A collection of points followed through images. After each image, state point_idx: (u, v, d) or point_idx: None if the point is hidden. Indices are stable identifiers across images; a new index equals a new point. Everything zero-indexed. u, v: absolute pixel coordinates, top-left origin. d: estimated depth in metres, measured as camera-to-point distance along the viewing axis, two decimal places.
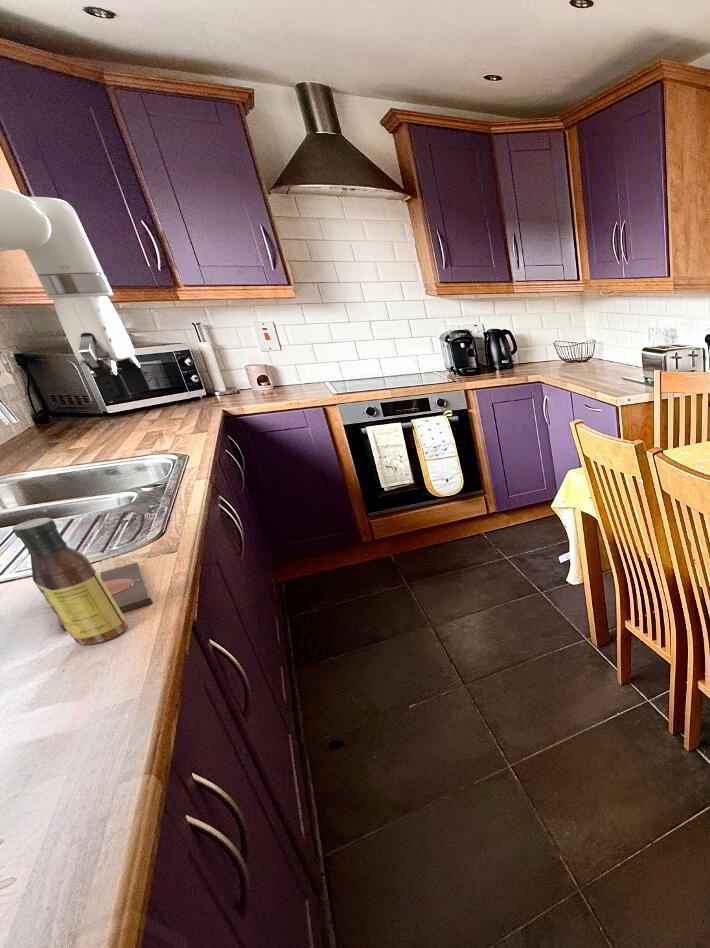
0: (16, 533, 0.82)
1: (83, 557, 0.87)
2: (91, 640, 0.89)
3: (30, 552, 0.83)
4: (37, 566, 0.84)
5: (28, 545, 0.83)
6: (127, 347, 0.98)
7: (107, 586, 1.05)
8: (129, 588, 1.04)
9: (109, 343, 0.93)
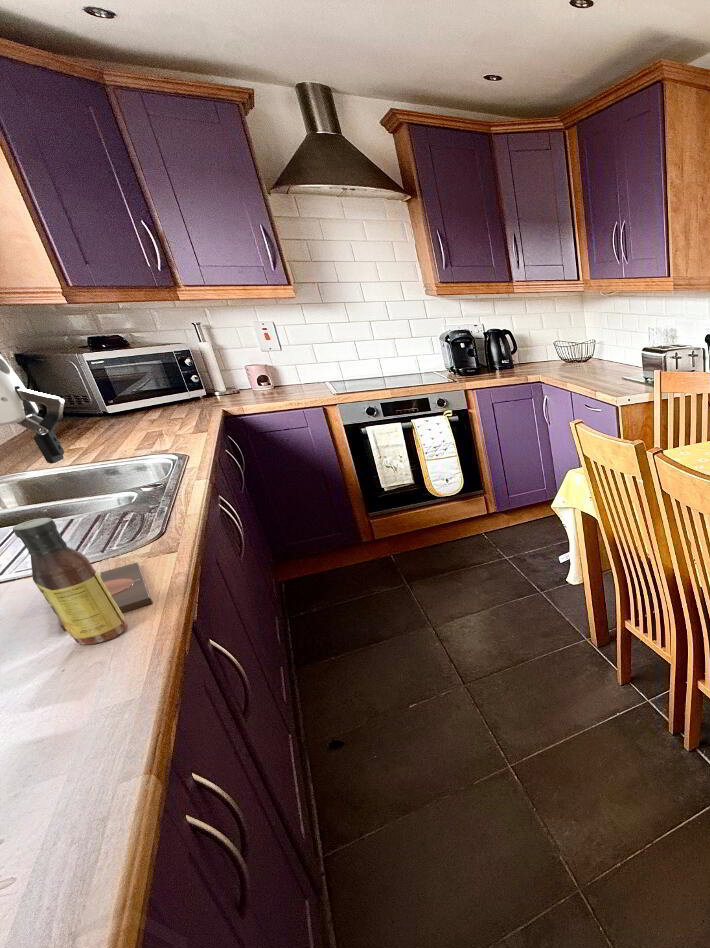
0: (16, 533, 0.82)
1: (83, 557, 0.87)
2: (91, 640, 0.89)
3: (30, 552, 0.83)
4: (37, 566, 0.84)
5: (28, 545, 0.83)
6: None
7: (107, 586, 1.05)
8: (129, 588, 1.04)
9: None
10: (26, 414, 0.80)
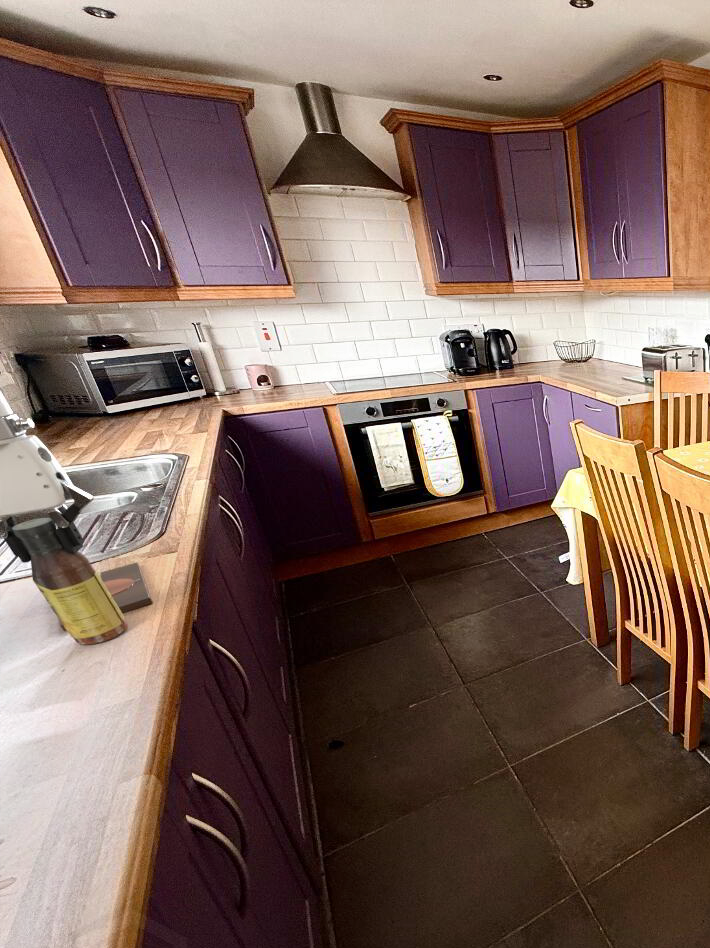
0: (16, 533, 0.82)
1: (83, 557, 0.87)
2: (91, 640, 0.89)
3: (30, 552, 0.83)
4: (37, 566, 0.84)
5: (28, 545, 0.83)
6: (24, 501, 0.81)
7: (107, 586, 1.05)
8: (129, 588, 1.04)
9: None
10: None
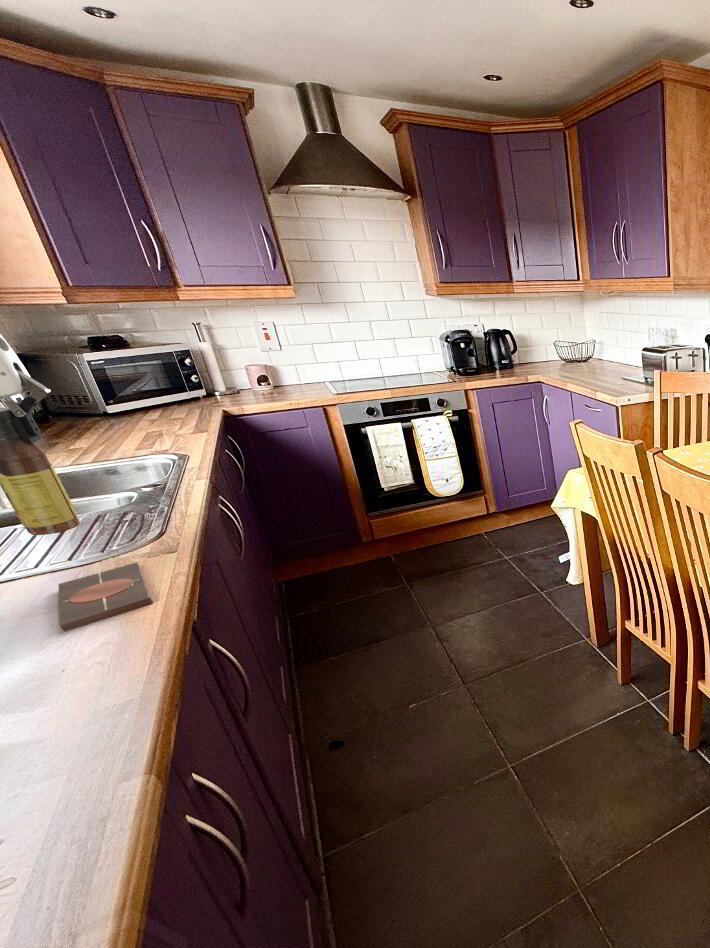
0: None
1: (40, 449, 0.92)
2: (42, 530, 0.93)
3: None
4: None
5: None
6: None
7: (107, 586, 1.05)
8: (129, 588, 1.04)
9: None
10: (15, 395, 0.88)
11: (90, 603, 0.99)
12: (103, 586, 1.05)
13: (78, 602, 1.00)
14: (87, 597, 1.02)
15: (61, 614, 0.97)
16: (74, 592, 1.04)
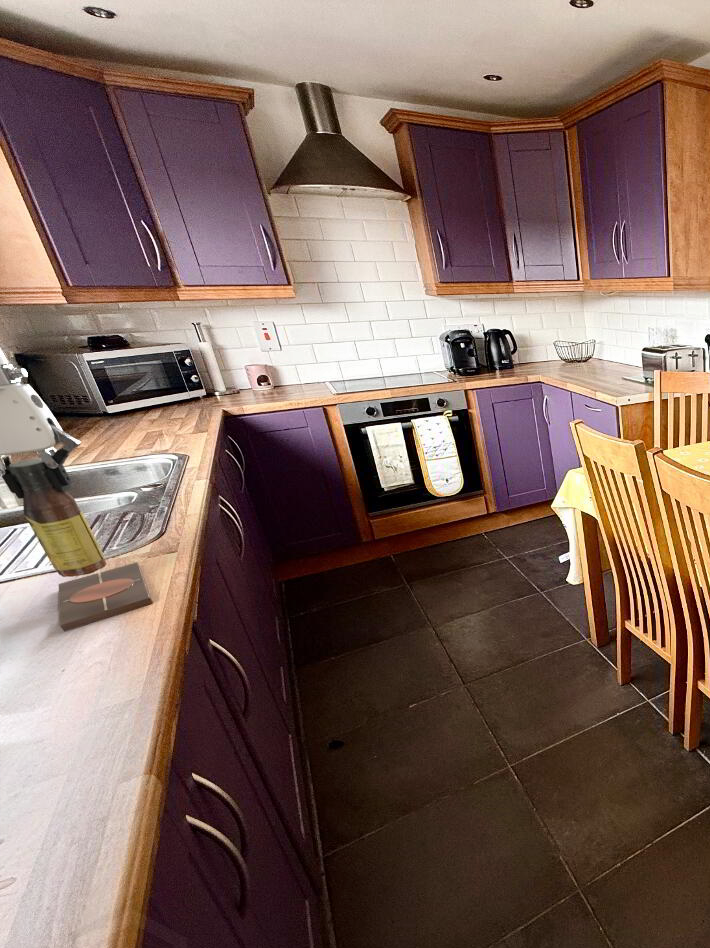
0: (12, 470, 0.92)
1: (70, 497, 0.97)
2: (72, 572, 0.99)
3: (23, 488, 0.93)
4: (28, 501, 0.94)
5: (22, 481, 0.93)
6: (19, 442, 0.91)
7: (107, 586, 1.05)
8: (129, 588, 1.04)
9: None
10: (48, 448, 0.94)
11: (90, 603, 0.99)
12: (103, 586, 1.05)
13: (78, 602, 1.00)
14: (87, 597, 1.02)
15: (61, 614, 0.97)
16: (74, 592, 1.04)
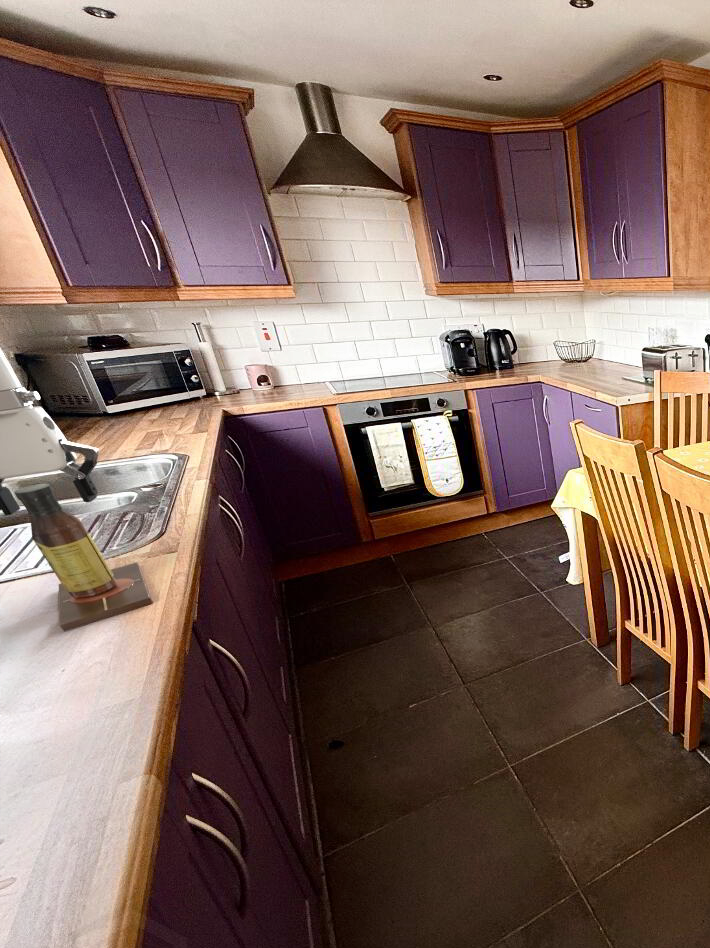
0: (17, 496, 0.93)
1: (77, 519, 0.99)
2: (83, 593, 1.01)
3: (30, 513, 0.95)
4: (36, 525, 0.95)
5: (28, 507, 0.94)
6: (31, 464, 0.92)
7: None
8: (129, 588, 1.04)
9: None
10: (67, 462, 0.96)
11: (90, 603, 0.99)
12: None
13: (78, 602, 1.00)
14: (87, 597, 1.02)
15: (61, 614, 0.97)
16: None
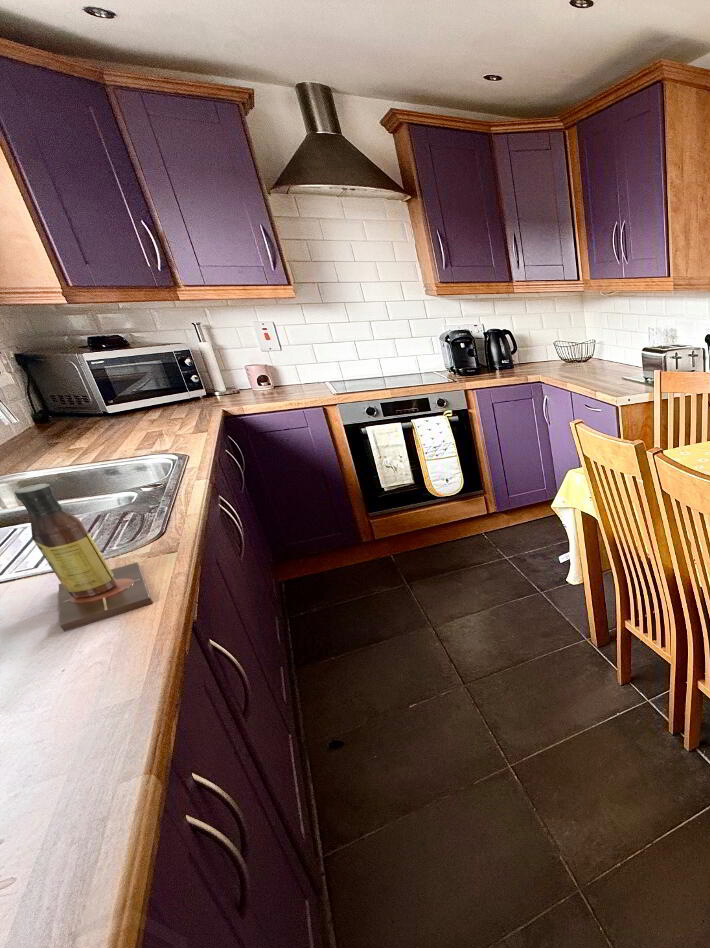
0: (17, 496, 0.93)
1: (77, 519, 0.99)
2: (83, 593, 1.01)
3: (30, 513, 0.95)
4: (36, 525, 0.95)
5: (28, 507, 0.94)
6: None
7: None
8: (129, 588, 1.04)
9: None
10: None
11: (90, 603, 0.99)
12: None
13: (78, 602, 1.00)
14: (87, 597, 1.02)
15: (61, 614, 0.97)
16: None
